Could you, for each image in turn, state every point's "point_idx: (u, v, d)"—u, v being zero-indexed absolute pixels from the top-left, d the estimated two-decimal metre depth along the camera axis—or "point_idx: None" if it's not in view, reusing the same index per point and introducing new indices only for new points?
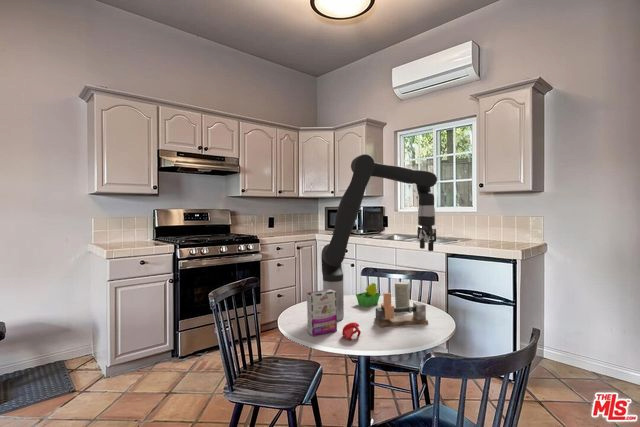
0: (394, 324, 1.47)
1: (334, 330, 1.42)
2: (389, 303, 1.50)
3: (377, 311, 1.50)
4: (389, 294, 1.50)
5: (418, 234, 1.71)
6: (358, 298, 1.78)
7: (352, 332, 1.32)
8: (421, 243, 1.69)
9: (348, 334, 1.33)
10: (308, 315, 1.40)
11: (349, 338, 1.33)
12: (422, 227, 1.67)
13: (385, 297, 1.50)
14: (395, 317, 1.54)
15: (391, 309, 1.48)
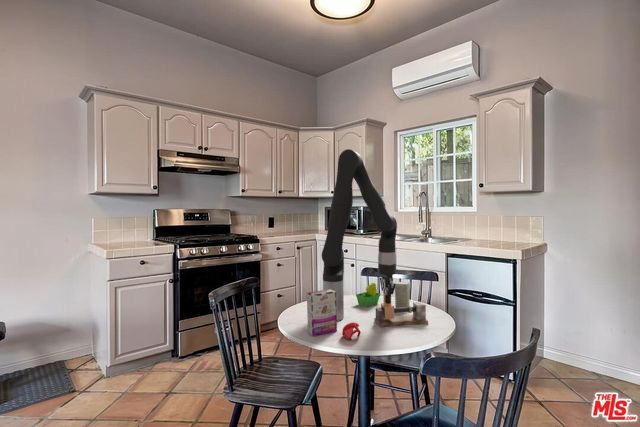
0: (394, 324, 1.47)
1: (334, 330, 1.42)
2: None
3: (377, 311, 1.50)
4: None
5: (381, 285, 1.54)
6: (358, 298, 1.78)
7: (352, 332, 1.32)
8: None
9: (348, 334, 1.33)
10: (308, 315, 1.40)
11: (349, 338, 1.33)
12: (383, 275, 1.52)
13: None
14: (395, 317, 1.54)
15: (391, 309, 1.48)
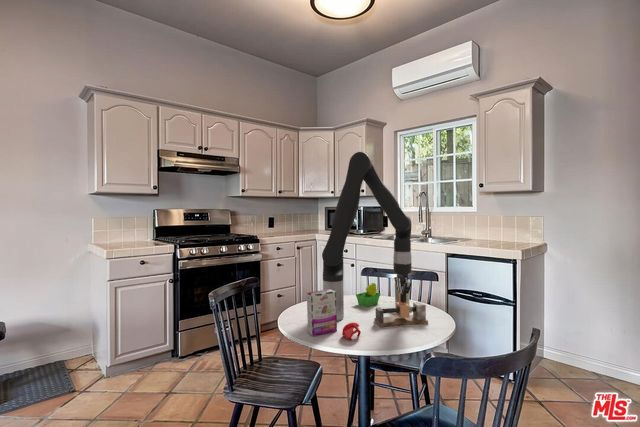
0: (394, 324, 1.47)
1: (334, 330, 1.42)
2: None
3: (377, 311, 1.50)
4: None
5: (396, 284, 1.55)
6: (358, 298, 1.78)
7: (352, 332, 1.32)
8: None
9: (348, 334, 1.33)
10: (308, 315, 1.40)
11: (349, 338, 1.33)
12: (398, 274, 1.53)
13: (400, 296, 1.51)
14: (395, 317, 1.54)
15: (407, 308, 1.49)
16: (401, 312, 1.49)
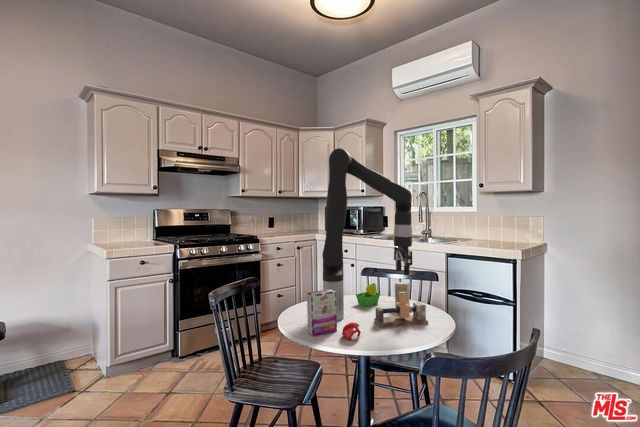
0: (394, 324, 1.47)
1: (334, 330, 1.42)
2: (404, 302, 1.51)
3: (377, 311, 1.50)
4: (404, 293, 1.51)
5: (394, 255, 1.57)
6: (358, 298, 1.78)
7: (352, 332, 1.32)
8: (397, 265, 1.55)
9: (348, 334, 1.33)
10: (308, 315, 1.40)
11: (349, 338, 1.33)
12: (398, 248, 1.52)
13: (400, 296, 1.51)
14: (395, 317, 1.54)
15: (407, 308, 1.49)
16: (401, 312, 1.49)
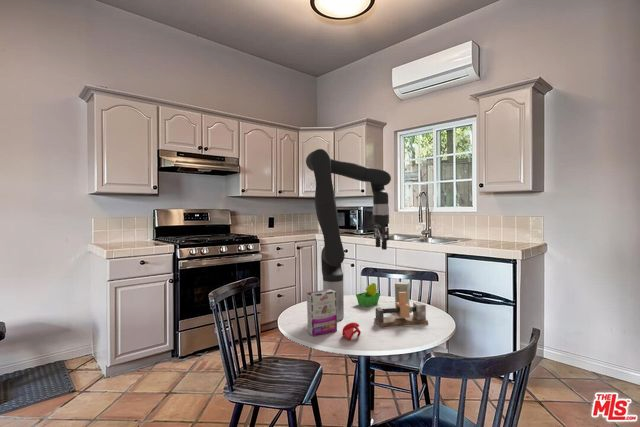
0: (394, 324, 1.47)
1: (334, 330, 1.42)
2: (404, 302, 1.51)
3: (377, 311, 1.50)
4: (404, 293, 1.51)
5: (374, 233, 1.71)
6: (358, 298, 1.78)
7: (352, 332, 1.32)
8: (377, 242, 1.70)
9: (348, 334, 1.33)
10: (308, 315, 1.40)
11: (349, 338, 1.33)
12: (377, 226, 1.67)
13: (400, 296, 1.51)
14: (395, 317, 1.54)
15: (407, 308, 1.49)
16: (401, 312, 1.49)
